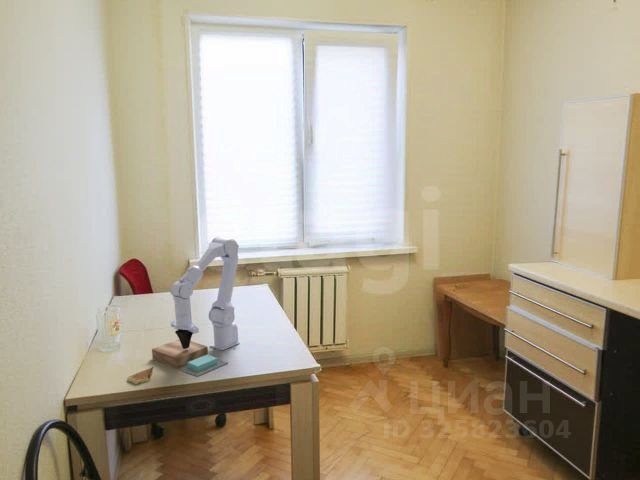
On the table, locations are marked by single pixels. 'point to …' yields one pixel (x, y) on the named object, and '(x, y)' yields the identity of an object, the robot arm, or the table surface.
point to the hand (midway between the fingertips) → (186, 347)
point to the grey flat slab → (198, 373)
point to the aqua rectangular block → (202, 362)
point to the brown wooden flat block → (178, 353)
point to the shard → (141, 376)
